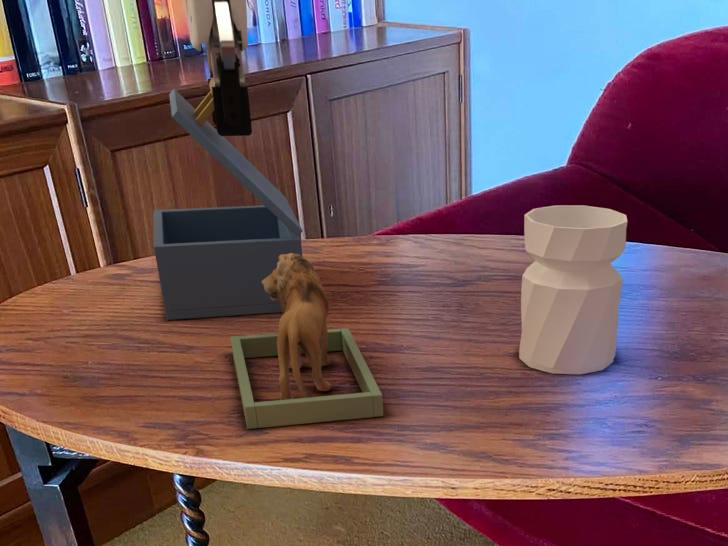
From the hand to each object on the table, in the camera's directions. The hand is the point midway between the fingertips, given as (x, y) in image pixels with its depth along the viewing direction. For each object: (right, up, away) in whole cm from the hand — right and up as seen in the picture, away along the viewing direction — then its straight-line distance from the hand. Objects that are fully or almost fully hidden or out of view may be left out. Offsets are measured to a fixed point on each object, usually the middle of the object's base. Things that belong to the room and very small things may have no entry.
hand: (232, 128), depth 93 cm
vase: (+32, -24, -6) cm, 41 cm away
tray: (+9, -28, -12) cm, 32 cm away
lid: (0, -3, +2) cm, 3 cm away
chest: (-2, -13, +9) cm, 16 cm away
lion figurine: (+9, -28, -11) cm, 31 cm away
